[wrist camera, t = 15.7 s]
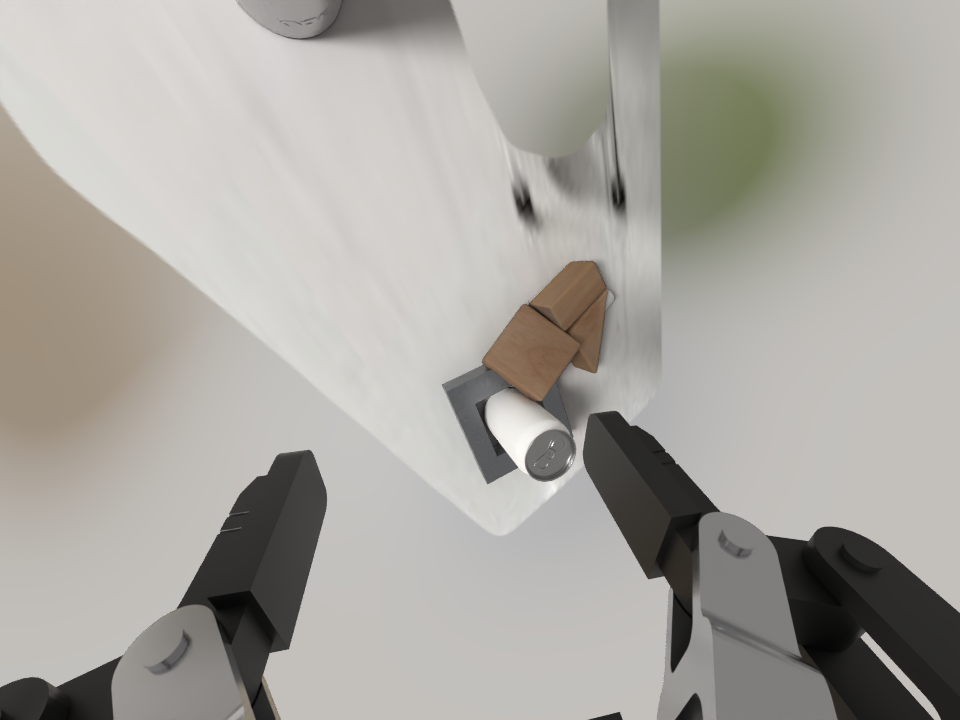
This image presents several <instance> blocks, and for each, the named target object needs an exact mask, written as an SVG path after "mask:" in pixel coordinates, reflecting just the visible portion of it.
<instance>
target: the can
mask: <svg viewBox="0 0 960 720" xmlns="http://www.w3.org/2000/svg"><path fill="white" fill-rule="evenodd" d="M484 420H485V423H486V425H487V427H488V428H489V429H490V431H491V432H492V433H493V435H494V436H495V437H496V439H497V440H498V441H499V443H500V444H501V445H502V447H503V448H504V449H505V451H506V452H507V453H508V455H509V456H510V457H511V459H512V460H513V461H514V462H515V464H516V465H517V466H518V467H519V469H520V470H521V471H523V472H524V473H525V474H527V475H529V476H531V477H532V478H534V479H535V480H538V481H543V482H547V481H552V480H555V479H557V478H559V477H561V476H562V475H563V474H565V473H566V472H567V471H568V469H569V468H570V467H571V465H572V463H573V461H574V459H575V455H576V445H575V442H574V439H573V438H572V436H571V435H570V433H569V431H568V429H567V428H566V427H565V426H564V425H563V424H562V423H561V422H560V421H559V420H558V419H556V418H555V417H554V416H553V415H551V414H550V413H549V412H548V411H546V410H545V409H544V408H543V407H541V406H540V405H539V404H538V403H536V402H535V401H533V400H532V399H530V398H529V397H527V396H526V395H525V394H523V393H522V392H520V391H519V390H518V389H515V388H506V389H504V390H502V391H500V392H498V393H496V394H494V395H492V396H491V397H490V399H489V400H488V401H487V403H486V406H485V409H484Z"/></svg>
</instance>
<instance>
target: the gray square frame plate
mask: <svg viewBox="0 0 960 720" xmlns="http://www.w3.org/2000/svg"><path fill="white" fill-rule="evenodd" d="M510 386H512V385H511V384H510V383H508V382H507V381H506V380H505V379H503V378H502V377H501V376H500V375H498V374H497V373H496V372H495V371H493V370H492V369H490V368H488V367H486V366H485V365H482V366H480V367H478V368H476V369H474V370H472V371H470V372H468V373H466V374H464V375H461V376H459V377H457V378H455V379H453V380H451V381H449V382H447V383H445V384H442V387H443V389H444V391H445V393H446V395H447V398H448V400H449V402H450V404H451V407H452V409H453V411H454V413H455V415H456V418H457V420H458V422H459V424H460V427H461V429H462V431H463V433H464V435H465V438H466V440H467V442H468V444H469V447H470V449H471V451H472V453H473V455H474V458H475V460H476V462H477V464H478V467H479V469H480V471H481V473H482V475H483V477H484V479H485V481H486V482H487V484H489V483H491V482H493V481H495V480H496V479H498V478H500V477H502V476H504V475H506V474H507V473H509V472H511V471H513V470H515V469H517V468H518V466H517V465H516V464H515V462H514V461H513V460H512V459H511V457H510V456H509V455H508V453H507V452H506V451H505V449H504V448H503V447H502V445H501V444H500V443H498V444H496V445H494V446H492V443H491V441H490V438H489V436H488V434H487V431H486V429H485V427H484V424H483V422H482V419H481V417H480V415H479V412H478V410H477V408H476V405H475V404H476V403H478V402H480V401H482V400H484V399H486V398H488V397H490V396H492V395H494V394H496V393H498V392H500V391H502V390H504V389H506V388H508V387H510ZM536 403H538V404H539V405H540V406H541V407H543V408H544V409H545V410H546V411H548V412H549V413H550V414H551V415H553V416H554V417H555V418H556V419H558V420H559V421H560V422H561V423H562V424H563V425H564V426H565V427H566V428H567V429H568V431H569V433H570V435H571V436H572V438H573V434H572V431H571V428H570V425H569V422H568V419H567V415H566V412H565V409H564V406H563V403H562V400H561V396H560V393H559V390H558V387H557V384H556V383H555V384H554V386H553V387H552V389H551V390H550V391H549V393H548V394H547V396H546V397H545V399H544V400H543V401H536Z"/></svg>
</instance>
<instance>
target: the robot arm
mask: <svg viewBox="0 0 960 720" xmlns="http://www.w3.org/2000/svg"><path fill="white" fill-rule="evenodd" d="M236 1H237V3H238V4H239V5H240V6H241V7H242V8H243V9H244V11H245V12H246V13H247V14H248V15H249V16H250V17H252V18H253V19H254V20H255V21H256V22H258V23H259V24H260V25H262V26H263V27H265V28H267V29H269V30H270V31H272V32H274V33H277V34H280V35H283V36H286V37H291V38H308V37H313V36H315V35H317V34H320V33H322V32H323V31H324V30H326V29H327V28H328V27H329V26H330V25H331V24H332V23H333V21H334V20H335V18H336V17H337V14H338V12H339V9H340V7H341V1H342V0H236ZM583 460H584V464H585V468H586V470H587V472H588V474H589V476H590V477H591V479H592V481H593V483H594V485H595V486H596V488H597V490H598V492H599V493H600V495H601V497H602V499H603V501H604V502H605V504H606V506H607V508H608V509H609V511H610V513H611V514H612V516H613V518H614V520H615V521H616V523H617V525H618V527H619V528H620V530H621V532H622V534H623V536H624V537H625V539H626V541H627V543H628V544H629V546H630V548H631V550H632V552H633V553H634V555H635V557H636V559H637V560H638V562H639V564H640V566H641V567H642V569H643V571H644V573H645V574H646V576H647V578H648V579H652V578H657V577H662V576H665V578H666V580H667V581H668V583H669V585H670V586H671V587H670V590H669V595H668V615H667V636H666V657H665V675H664V682H663V688H662V692H661V696H660V701H659V707H658V713H657V720H837V719H838V720H934V719H933V718H932V717H931V716H930V715H929V714H928V712H927V711H926V710H925V709H924V708H923V707H922V706H921V705H920V704H919V702H918V701H917V700H916V699H915V698H914V697H913V696H912V695H911V693H910V692H909V691H908V690H907V689H906V688H905V687H904V686H903V685H902V683H901V682H900V681H899V680H898V679H897V678H896V677H895V676H894V674H893V673H892V672H891V671H890V670H889V669H888V668H887V667H886V666H885V664H884V663H883V662H882V661H881V660H880V659H879V658H878V657H877V656H876V654H875V653H874V652H873V651H872V650H871V649H870V648H869V647H868V645H867V644H866V643H865V642H864V641H863V640H862V639H861V638H860V637H861V636H862V635H863V634H864V633H865V632H867V633H868V634H869V635H870V636H871V638H872V639H873V640H874V641H875V642H876V643H877V644H878V645H879V646H880V647H881V648H882V650H883V651H884V652H885V653H886V654H887V655H888V656H889V657H890V658H891V659H892V660H893V662H894V663H895V664H896V665H897V666H898V667H899V668H900V669H901V670H902V671H903V672H904V673H905V675H907V677H908V678H909V679H910V680H911V681H912V682H913V683H914V684H915V685H916V686H917V688H918V689H919V690H920V691H921V692H922V693H923V694H924V695H925V696H926V697H927V699H928V700H929V701H930V702H931V704H932V705H933V706H934V707H935V709H936V711H937V712H938V714H939V716H940V718H941V720H960V613H959V612H958V611H957V610H956V609H954V608H953V607H952V606H951V605H950V604H949V603H947V602H946V601H945V600H944V599H943V598H942V597H940V596H939V595H938V594H936V592H935V591H933V590H932V589H931V588H930V587H929V586H928V585H926V584H925V583H924V582H923V581H922V580H920V579H919V578H918V577H917V576H916V575H915V574H913V573H912V572H911V571H910V570H909V569H908V568H906V567H905V566H904V565H903V564H902V563H901V562H899V561H898V560H897V559H896V558H895V557H894V556H892V555H891V554H890V553H889V552H887V551H886V550H885V549H884V548H882V547H881V546H879V545H878V544H876V543H874V542H873V541H871V540H869V539H868V538H866V537H864V536H862V535H859V534H857V533H855V532H852V531H849V530H846V529H843V528H838V527H822V528H820V529H818V530H817V531H816V532H815V533H814V535H813V536H812V537H811V539H810V540H809V541H803V540H796V539H789V538H781V537H774V536H768V535H765V534H764V533H762V532H761V531H760V530H759V529H758V528H757V527H755V526H754V525H753V524H751V523H750V522H748V521H746V520H744V519H742V518H740V517H738V516H735V515H732V514H728V513H723V512H720V511H719V510H718V509H717V508H716V506H714V504H713V503H712V502H711V501H710V500H709V498H708V497H707V496H706V495H705V494H704V493H703V492H702V491H701V489H700V488H699V487H698V486H697V485H696V484H695V483H694V482H693V481H692V479H691V478H690V477H689V476H688V475H687V474H686V473H685V472H684V470H683V469H682V468H681V467H680V466H679V465H678V464H676V463H675V461H674V459H673V458H672V457H671V456H670V455H669V454H668V453H666V452H665V449H664V448H663V447H662V446H661V445H660V444H659V443H658V441H657V440H656V439H655V438H654V437H653V436H652V435H650V434H648V433H647V432H646V431H644V430H642V429H641V428H639V427H638V426H630V425H629V424H628V423H627V422H626V420H625V419H624V418H623V417H622V416H621V414H620V413H619V412H617V411H609V412H602V413H594V414H590V416H589V418H588V423H587V429H586V435H585V442H584V448H583ZM326 506H327V493H326V488H325V485H324V482H323V480H322V477H321V474H320V471H319V469H318V466H317V463H316V460H315V458H314V455H313V453H312V452H311V451H310V450H304V451H297V452H289V453H281V454H279V455H277V457H276V458H275V460H274V462H273V464H272V466H271V468H270V470H269V472H268V474H267V475H266V476H259V477H257V478H256V479H255V480H254V481H253V482H252V483H251V484H250V485H249V486H248V487H247V488H246V489H245V490H244V491H243V492H242V493H241V494H240V495H239V497H238V499H237V501H236V502H235V504H234V506H233V508H232V510H231V511H230V513H229V514H230V516H229V517H228V518H227V519H226V520H225V522H224V524H223V526H222V528H221V530H220V531H221V532H220V534H218V535H217V537H216V539H215V541H214V542H213V544H212V546H211V548H210V550H209V552H208V553H207V556H206V557H205V559H204V561H203V563H202V565H201V566H200V568H199V570H198V572H197V573H196V575H195V577H194V579H193V581H192V583H191V584H190V586H189V588H188V590H187V592H186V594H185V595H184V597H183V599H182V601H181V602H180V604H179V606H178V607H177V609H176V610H174V611H172V612H170V613H168V614H167V615H165V616H163V617H161V618H160V619H158V620H157V621H156V622H154V623H153V624H152V625H150V626H149V627H148V628H147V629H146V630H145V631H143V632H142V633H141V634H140V636H138V637H137V638H136V640H135V641H134V642H133V643H132V644H131V646H130V647H129V648H128V649H127V651H126V652H125V654H124V655H122V656H121V657H119V658H117V659H114V660H113V661H110V662H108V663H106V664H104V665H102V666H100V667H98V668H96V669H94V670H91V671H89V672H87V673H85V674H83V675H81V676H79V677H77V678H74V679H72V680H70V681H68V682H66V683H64V684H62V685H60V686H58V687H54V686H53V685H51V684H50V683H48V682H46V681H45V680H43V679H40V678H35V677H30V678H24V679H20V680H17V681H14V682H11V683H9V684H7V685H5V686H2V687H1V688H0V720H281V719H280V716H279V714H278V711H277V709H276V706H275V703H274V701H273V698H272V696H271V693H270V690H269V688H268V685H267V682H266V680H265V678H264V676H263V673H264V670H265V666H266V663H267V659H268V656H269V653H272V652H277V651H282V650H287V649H289V647H290V642H291V639H292V636H293V632H294V628H295V624H296V620H297V617H298V613H299V609H300V605H301V601H302V598H303V594H304V591H305V587H306V583H307V579H308V576H309V572H310V568H311V564H312V561H313V557H314V553H315V549H316V546H317V542H318V538H319V534H320V531H321V527H322V523H323V519H324V516H325V512H326ZM590 720H622V717H621V714H620V712H617V713H613V714H610V715H605V716H602V717H597V718H594V719H590Z"/></svg>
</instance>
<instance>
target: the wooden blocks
mask: <svg viewBox="0 0 960 720" xmlns="http://www.w3.org/2000/svg"><path fill="white" fill-rule="evenodd" d="M605 288H606V285H605V283H604V281H603V279H602V277H601V275H600V272H599V270H598V268H597V266H596V264H595V263H594V262H593V261H586V262H570V263H569V264H568V265H567V266H566V267H565V268H564V269H563V270H562V271H561V272H560V273H559V274H558V275H557V276H556V277H555V278H554V279H553V280H552V281H551V282H550V283H549V284H548V285H547V286H546V287H545V288H544V289H543V290H542V291H541V292H540V293H539V294H538V295H537V296H536V297H535V298H534V299H533V300H532V301H531V302H530V304H529V305H530V306H528V305H527V304H523V305H522V306H521V307H520V309H519V310H518V311H517V313H516V314H515V315H514V317H513V318H512V319H511V321H510V322H509V324H508V325H507V326H506V328H505V329H504V330H503V332H502V333H501V335H500V336H499V337H498V339H497V340H496V341H495V343H494V344H493V346H492V347H491V348H490V350H489V351H488V352H487V354H486V355H485V356H484V358H483V360H482V363H483V365H485V366H486V367H488V368H490V369H492V370H493V371H495V372H496V373H497V374H498V375H500V376H501V377H502V378H503V379H505V380H506V381H507V382H508V383H510V384H511V385H512V386H514V387H515V388H516V389H518V390H519V391H520V392H522V393H523V394H525V395H526V396H527V397H529V398H530V399H532V400H533V401H543V400H544V399H545V397H546V396H547V394H548V393H549V391H550V390H551V389H552V387H553V386H554V384H555V383H556V381H557V380H558V378H559V377H560V376H561V374H562V373H563V371H564V370H565V368H566V367H567V365H568V364H569V363H570V361H571V362H572V364H573V365H574V366H575V367H577V368H580V369H583V370H586V371H589V372H591V373H596V372H597V368H598V361H599V353H600V346H601V338H602V330H603V323H604V315H605V310H606V309H607V308H608V307H609V306H610V305H611V304H612V303H613V301H614V299H615V297H614V295H613V293H612V292H611V291H609V290H608V289H605Z"/></svg>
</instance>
